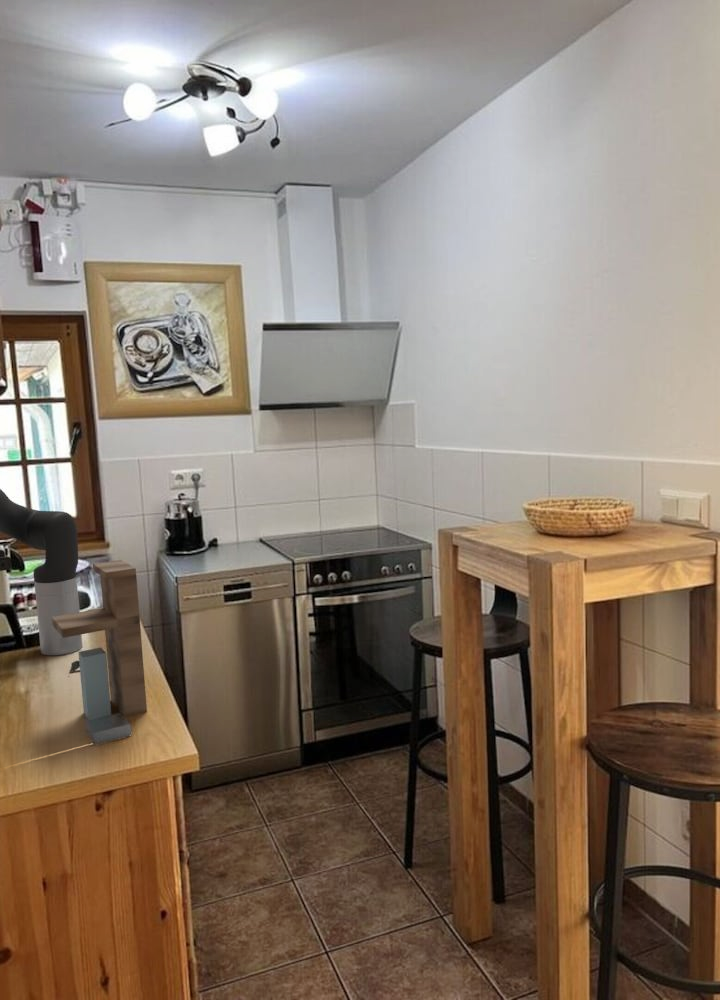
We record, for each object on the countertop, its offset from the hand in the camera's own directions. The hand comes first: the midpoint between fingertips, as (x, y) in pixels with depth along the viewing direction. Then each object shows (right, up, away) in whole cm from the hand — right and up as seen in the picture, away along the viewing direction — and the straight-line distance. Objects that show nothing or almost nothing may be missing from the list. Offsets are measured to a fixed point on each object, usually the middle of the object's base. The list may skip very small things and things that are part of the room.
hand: (7, 559), depth 131 cm
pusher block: (+14, -29, +5) cm, 33 cm away
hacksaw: (+6, -28, +23) cm, 37 cm away
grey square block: (+19, -30, -4) cm, 36 cm away
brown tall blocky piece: (+15, -29, +5) cm, 33 cm away
